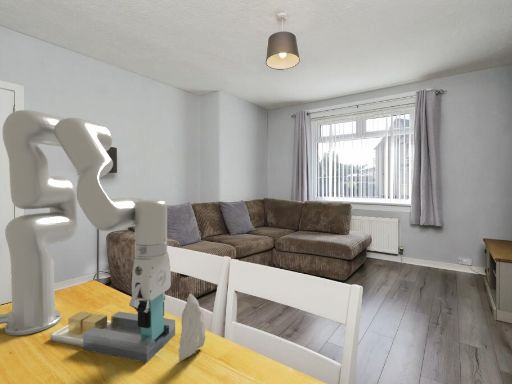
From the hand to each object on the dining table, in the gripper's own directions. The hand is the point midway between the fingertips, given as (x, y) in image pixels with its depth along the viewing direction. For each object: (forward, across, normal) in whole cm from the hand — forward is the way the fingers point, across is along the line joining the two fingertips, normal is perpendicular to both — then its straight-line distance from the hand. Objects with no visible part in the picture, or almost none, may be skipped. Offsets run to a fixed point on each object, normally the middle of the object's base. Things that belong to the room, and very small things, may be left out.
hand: (151, 320), depth 69 cm
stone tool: (+7, -1, -12) cm, 14 cm away
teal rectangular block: (+4, 0, 0) cm, 4 cm away
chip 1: (+6, 0, +22) cm, 23 cm away
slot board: (+6, 0, +6) cm, 9 cm away
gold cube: (+6, 0, +17) cm, 18 cm away
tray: (+6, 0, +21) cm, 22 cm away
